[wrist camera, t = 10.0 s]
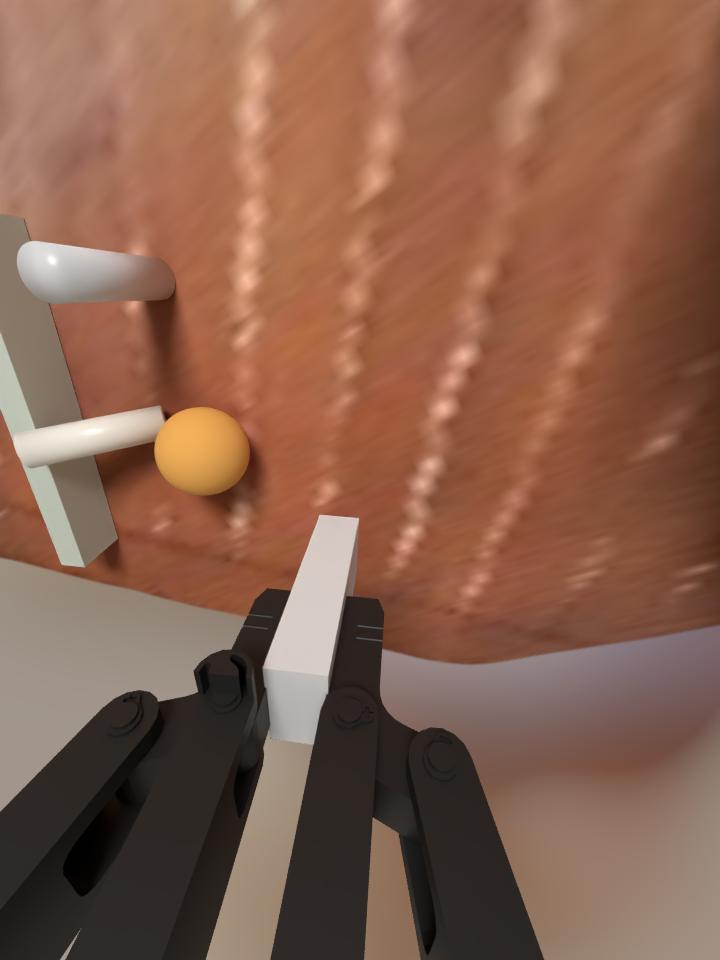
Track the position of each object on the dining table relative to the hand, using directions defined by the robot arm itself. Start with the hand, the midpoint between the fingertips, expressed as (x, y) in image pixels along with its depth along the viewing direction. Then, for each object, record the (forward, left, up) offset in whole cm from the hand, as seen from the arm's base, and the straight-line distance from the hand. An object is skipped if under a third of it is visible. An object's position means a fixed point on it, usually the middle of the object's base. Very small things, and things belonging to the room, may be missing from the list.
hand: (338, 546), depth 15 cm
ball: (+1, -11, -11) cm, 15 cm away
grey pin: (-9, -14, -14) cm, 22 cm away
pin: (0, -15, -13) cm, 19 cm away
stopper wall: (0, -23, -14) cm, 27 cm away
